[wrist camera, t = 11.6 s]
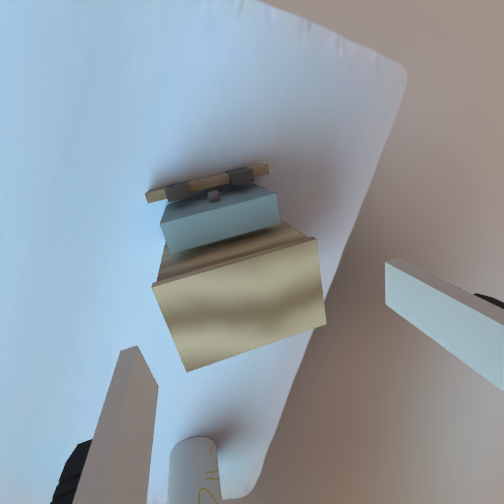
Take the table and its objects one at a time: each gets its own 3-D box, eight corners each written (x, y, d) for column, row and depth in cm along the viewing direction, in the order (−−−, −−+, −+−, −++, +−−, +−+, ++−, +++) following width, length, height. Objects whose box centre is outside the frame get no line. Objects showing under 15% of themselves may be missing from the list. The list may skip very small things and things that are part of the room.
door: (163, 197, 31) (155, 213, 23) (251, 175, 32) (274, 182, 24) (174, 229, 32) (170, 254, 24) (257, 206, 34) (281, 223, 26)
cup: (221, 456, 49) (232, 543, 38) (179, 475, 48) (178, 570, 37) (207, 429, 45) (214, 516, 35) (162, 449, 44) (154, 545, 34)
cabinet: (145, 190, 30) (120, 213, 18) (263, 162, 32) (307, 166, 21) (186, 302, 36) (186, 372, 24) (283, 272, 38) (326, 324, 27)
